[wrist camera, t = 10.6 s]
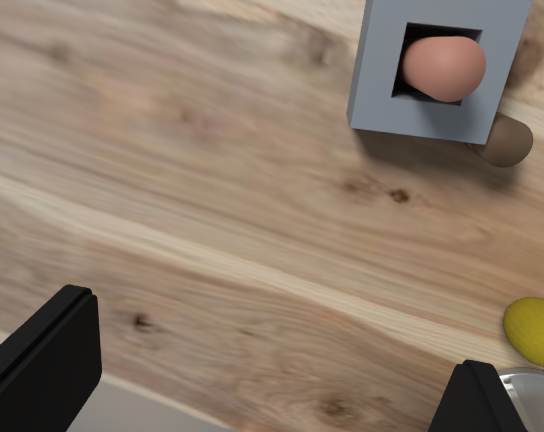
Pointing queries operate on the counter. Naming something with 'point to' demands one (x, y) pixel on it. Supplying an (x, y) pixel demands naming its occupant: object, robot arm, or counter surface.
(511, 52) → the hole block
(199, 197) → the counter surface
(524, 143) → the short pin
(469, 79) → the long pin
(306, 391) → the counter surface
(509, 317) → the lemon
